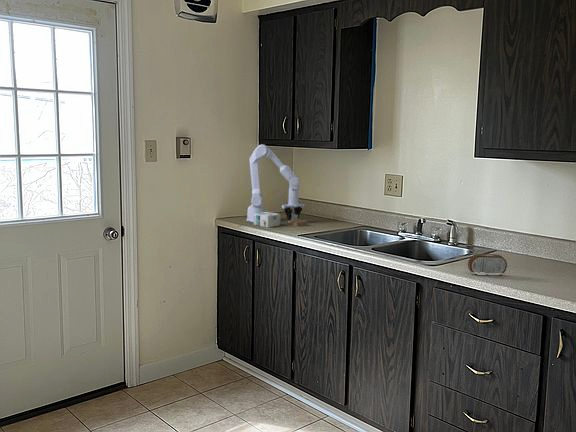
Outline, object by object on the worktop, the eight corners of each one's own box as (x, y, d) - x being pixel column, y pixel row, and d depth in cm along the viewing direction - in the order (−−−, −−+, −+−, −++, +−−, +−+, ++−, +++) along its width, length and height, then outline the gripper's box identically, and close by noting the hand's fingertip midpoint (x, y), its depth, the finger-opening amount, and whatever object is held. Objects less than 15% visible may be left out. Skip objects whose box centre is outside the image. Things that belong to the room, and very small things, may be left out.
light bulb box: (268, 215, 326) (253, 213, 333) (267, 228, 327) (253, 225, 334) (280, 213, 334) (266, 211, 341) (280, 225, 335) (266, 222, 342)
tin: (503, 274, 239) (505, 254, 238) (507, 276, 236) (509, 255, 235) (466, 273, 239) (468, 253, 237) (469, 275, 236) (471, 254, 234)
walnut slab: (289, 225, 340) (289, 220, 339) (299, 224, 344) (299, 219, 343) (296, 227, 334) (296, 221, 333) (306, 226, 338) (306, 221, 338)
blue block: (287, 222, 347) (288, 214, 346) (293, 222, 349) (293, 213, 348) (291, 223, 344) (292, 214, 343) (297, 223, 346) (297, 214, 345)
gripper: (287, 198, 337) (286, 222, 339) (307, 197, 345) (306, 220, 347) (280, 196, 342) (279, 220, 344) (300, 195, 351) (299, 218, 353)
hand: (292, 220), depth 346 cm, fingers open, 5 cm apart
